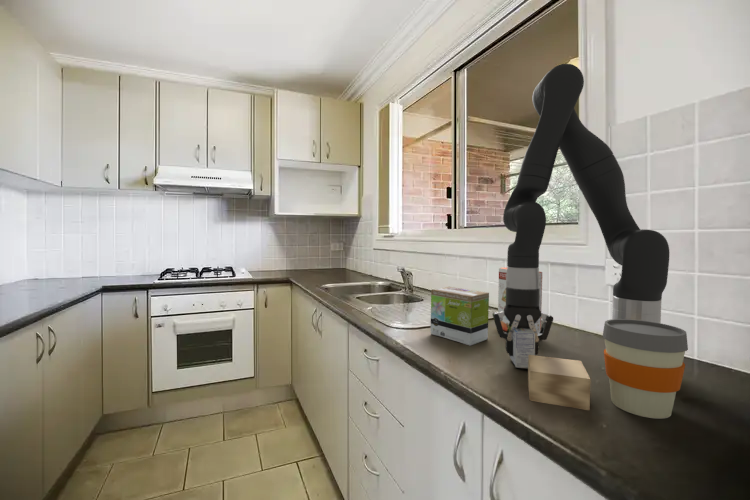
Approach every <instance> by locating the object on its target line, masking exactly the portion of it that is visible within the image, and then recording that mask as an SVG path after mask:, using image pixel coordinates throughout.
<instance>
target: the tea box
mask: <svg viewBox="0 0 750 500" xmlns="http://www.w3.org/2000/svg"><path fill="white" fill-rule="evenodd" d="M430 291H431V292H430V335H433V336H436V337H441V338H445V339H448V340H450V341H454V342H458V343H461V344H463V345H467V346H470V347H471V346H474V345H476V344H479V343H481V342H484V341H486V340H488V339H489V337H488V336H489V314H490V313H489V312H490V311H489V310H490V309H489V308H490V306H489V305H490V292H485V291H480V290H475V289H467V288H461V287H455V286H444V287H441V288H435V289H430Z"/></svg>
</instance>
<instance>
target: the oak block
mask: <svg viewBox="0 0 750 500" xmlns="http://www.w3.org/2000/svg"><path fill="white" fill-rule="evenodd" d="M527 386H528V397H529V398H528V399H529V401H532V402H537V403H543V404H549V405H554V406H559V407H566V408H574V409H577V410H578V409H580V410H584V411H590V407H591V405H590V403H591V378H590V375H589V373H588V372H587V369H586V367H585V366H584V364H583V362H582V360H578V359H567V358H559V357H553V356H552V357H550V356H544V355H543V356H542V355H528V368H527Z"/></svg>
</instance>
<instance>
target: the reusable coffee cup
mask: <svg viewBox="0 0 750 500" xmlns="http://www.w3.org/2000/svg"><path fill="white" fill-rule="evenodd" d="M603 325H604V326H603V331H602V332H603V333H602V337H603V339H604V344H605V349H603V358H604V365H605V373H606V376H607V377H608V379H609V380H608V381H609V391H610V400H611V402H612V404H613V405H615V406H616V407H617V408H619V409H621V410H623V411H624V412H627V413H630V414H633V415H635V416H639V417H643V418H650V419H668V418H670V417H671V416H672V413H673V408H674V404H675V401H676V400H675V399H676V394H677V392H679V391H680V390H681V386H682V382H683V378H684V373H685V369H686V364H685V362H684V357H685V354H686V353H685V352H687V351H688V349H689V347H688V346H689V345H688V335H687V331H686V330H684V329H682V328H679V327H677V326H674V325H673V326H672V325H670V324H666V323H656V322H650V321H642V320H631V319H612V318H611V319H607V320H605V321H604V324H603Z"/></svg>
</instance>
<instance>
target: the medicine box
mask: <svg viewBox="0 0 750 500" xmlns="http://www.w3.org/2000/svg"><path fill="white" fill-rule="evenodd" d="M512 340H513V356H510V355H509V358H510V360H511V362H512V364H513V365H514V367H515V368H517V369H528V355H535V333H534V331H533V330H530V329H529V328H523V327H522V328H517V329H516V330H514V332H513V338H512Z"/></svg>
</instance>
